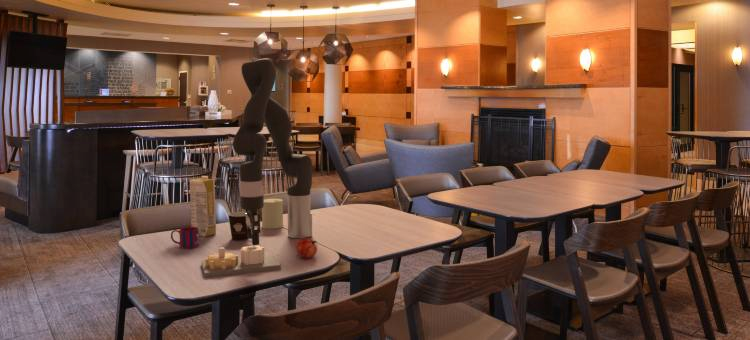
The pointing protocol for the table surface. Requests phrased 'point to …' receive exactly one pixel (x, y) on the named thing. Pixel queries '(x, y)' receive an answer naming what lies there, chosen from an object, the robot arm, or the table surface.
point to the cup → (187, 237)
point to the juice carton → (203, 205)
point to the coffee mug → (238, 226)
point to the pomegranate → (306, 248)
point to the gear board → (235, 264)
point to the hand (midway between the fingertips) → (253, 241)
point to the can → (272, 213)
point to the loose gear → (252, 255)
